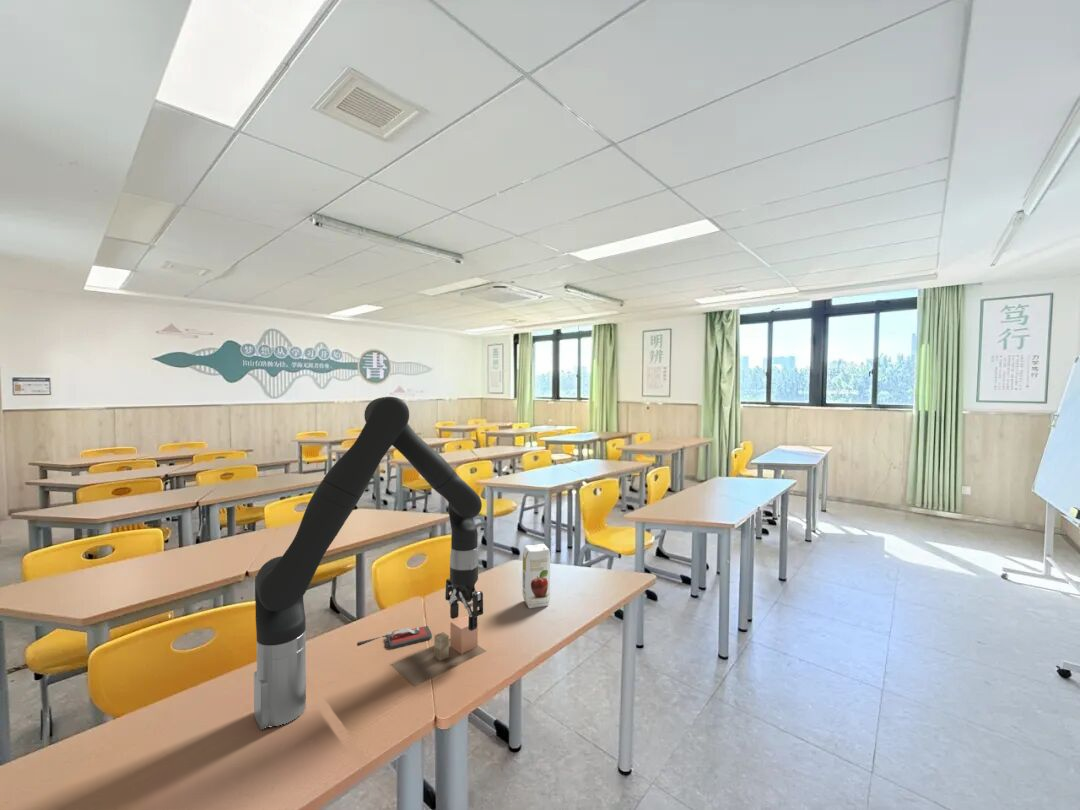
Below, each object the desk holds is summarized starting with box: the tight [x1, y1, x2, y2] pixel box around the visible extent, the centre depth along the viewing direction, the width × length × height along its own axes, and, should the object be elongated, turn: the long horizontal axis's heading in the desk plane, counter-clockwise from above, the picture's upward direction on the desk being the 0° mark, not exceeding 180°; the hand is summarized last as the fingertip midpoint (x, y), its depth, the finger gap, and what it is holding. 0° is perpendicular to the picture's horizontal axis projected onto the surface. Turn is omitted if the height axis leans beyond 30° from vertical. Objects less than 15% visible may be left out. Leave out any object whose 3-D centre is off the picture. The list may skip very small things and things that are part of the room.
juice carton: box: [521, 543, 551, 609], centre depth 150 cm, size 8×9×19 cm
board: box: [390, 631, 487, 687], centre depth 116 cm, size 21×12×7 cm, turn 134°
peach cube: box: [449, 615, 479, 654], centre depth 121 cm, size 5×5×7 cm
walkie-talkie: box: [356, 625, 433, 650], centre depth 124 cm, size 9×4×20 cm
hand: (463, 623), depth 121 cm, fingers open, 8 cm apart
